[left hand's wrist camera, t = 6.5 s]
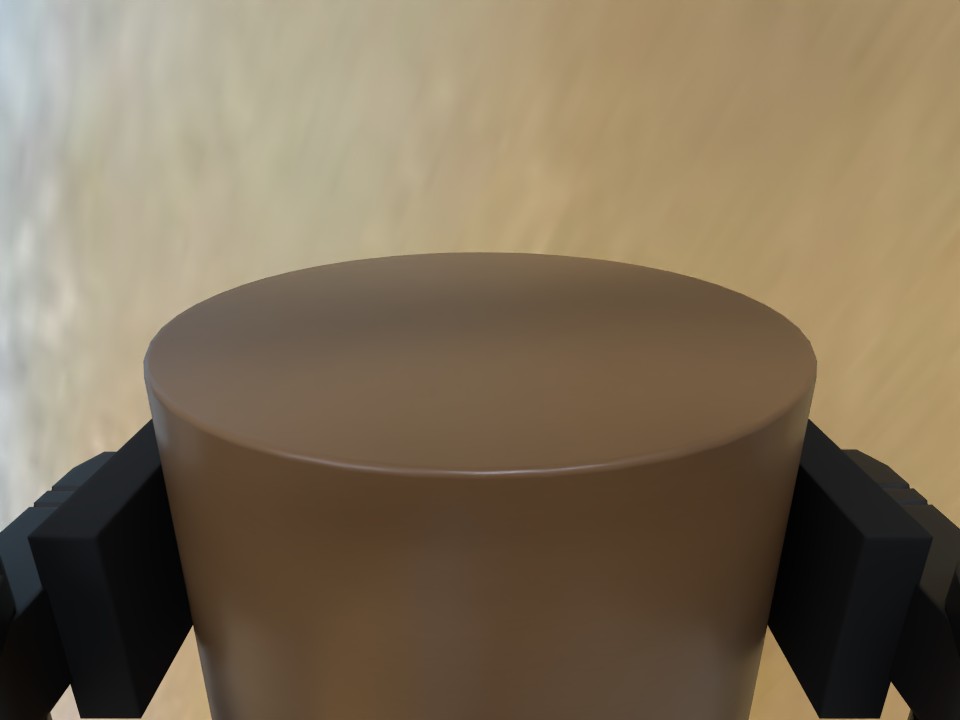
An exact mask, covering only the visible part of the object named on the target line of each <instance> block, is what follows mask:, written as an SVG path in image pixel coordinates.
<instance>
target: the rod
mask: <svg viewBox="0 0 960 720" xmlns="http://www.w3.org/2000/svg"><path fill="white" fill-rule="evenodd" d="M816 373H817V360H816V356H815V354H814V351H813V349H812V346H811V343H810V341H809V340H808V339H807V338H806V336H805V335H804V334H803V333H802V331H801V330H800V329H799V328H798V327H797V326H796V325H794V324H793V323H792V322H791V321H789V320H788V319H787V318H786V317H784V316H783V315H782V314H780V313H778V312H776V311H775V310H773V309H771V308H770V307H768V306H766V305H765V304H763V303H760V302H758V301H756V300H754V299H752V298H750V297H747V296H745V295H743V294H741V293H738V292H735V291H732V290H730V289H727V288H724V287H722V286H719V285H716V284H713V283H709V282H706V281H703V280H699V279H696V278H693V277H689V276H685V275H681V274H677V273H672V272H668V271H663V270H659V269H654V268H649V267H644V266H638V265H632V264H626V263H620V262H613V261H605V260H597V259H590V258H579V257H569V256H558V255H543V254H524V253H482V252H478V253H437V254H418V255H403V256H391V257H381V258H371V259H363V260H356V261H348V262H341V263H335V264H329V265H323V266H317V267H312V268H307V269H302V270H297V271H292V272H288V273H284V274H280V275H276V276H272V277H268V278H264V279H261V280H258V281H255V282H251V283H248V284H245V285H242V286H239V287H236V288H233V289H231V290H228V291H225V292H223V293H220V294H218V295H215V296H213V297H211V298H209V299H207V300H205V301H202V302H200V303H198V304H196V305H194V306H193V307H191V308H189V309H187V310H186V311H184V312H182V313H181V314H179V315H177V316H176V317H175V318H174V319H172V320H171V321H170V322H169V323H167V324H166V325H165V326H164V327H163V328H161V330H160V331H159V332H158V333H157V335H156V336H155V337H154V338H153V340H152V341H151V342H150V345H149V348H148V350H147V353H146V355H145V358H144V379H145V384H146V389H147V394H148V399H149V404H150V409H151V414H152V419H153V424H154V429H155V434H156V439H157V444H158V450H159V455H160V460H161V465H162V470H163V475H164V480H165V485H166V490H167V495H168V500H169V505H170V510H171V515H172V520H173V525H174V530H175V535H176V540H177V545H178V550H179V555H180V560H181V566H182V571H183V576H184V581H185V586H186V591H187V596H188V601H189V606H190V611H191V616H192V621H193V626H194V631H195V636H196V641H197V646H198V651H199V656H200V661H201V666H202V671H203V676H204V682H205V687H206V692H207V697H208V702H209V707H210V712H211V717H212V720H749V715H750V710H751V705H752V700H753V694H754V689H755V684H756V679H757V674H758V669H759V664H760V659H761V654H762V649H763V644H764V639H765V634H766V629H767V624H768V619H769V614H770V609H771V604H772V599H773V594H774V589H775V584H776V579H777V573H778V568H779V563H780V558H781V553H782V548H783V543H784V538H785V533H786V528H787V523H788V518H789V513H790V508H791V503H792V498H793V493H794V488H795V483H796V478H797V473H798V468H799V463H800V458H801V453H802V447H803V442H804V437H805V432H806V427H807V422H808V417H809V412H810V407H811V402H812V397H813V392H814V387H815V382H816Z"/></svg>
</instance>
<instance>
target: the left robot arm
mask: <svg viewBox="0 0 960 720" xmlns="http://www.w3.org/2000/svg"><path fill="white" fill-rule="evenodd" d="M192 625H193V621H192V616H191V611H190V606H189V601H188V596H187V591H186V586H185V581H184V576H183V571H182V566H181V560H180V555H179V550H178V545H177V540H176V535H175V530H174V525H173V520H172V515H171V510H170V505H169V500H168V495H167V490H166V485H165V480H164V475H163V470H162V465H161V460H160V455H159V450H158V444H157V439H156V434H155V429H154V424H153V419H151V420H150V421H149V422H148V423H147V424H146V425H145V426H144V427H143V428H142V429H141V430H139V431H138V432H137V433H136V434H135V435H134V436H133V437H132V438H131V439H130V440H129V441H128V442H127V443H126V444H125V445H124V446H123V447H122V448H120V449H119V450H118V451H117V452H103V453H101V454H99V455H97V456H95V457H93V458H92V459H90V460H88V461H86V462H84V463H82V464H80V465H78V466H76V467H74V468H73V469H72V470H71V471H69V472H68V473H67V474H66V475H65V476H64V477H63V478H62V479H60V480H59V481H58V482H57V483H56V484H55V485H54V486H53V487H52V491H47V492H46V493H45V494H43V495H42V496H41V497H40V498H39V499H38V500H37V501H36V502H34V507H29V508H28V509H27V510H25V511H24V512H23V513H22V514H21V515H20V516H19V517H18V518H16V519H15V520H14V521H13V522H12V523H11V524H10V525H9V526H7V527H6V528H5V529H4V530H3V531H2V532H1V533H0V720H52V717H51V713H50V712H51V710H52V709H53V707H54V706H55V705H56V703H57V702H58V700H59V699H60V698H61V696H62V695H63V693H64V692H65V690H66V689H67V688H68V686H69V685H70V684H71V687H72V691H73V694H74V697H75V701H76V704H77V708H78V711H79V714H80V718H141V717H142V716H143V714H144V712H145V710H146V708H147V707H148V705H149V703H150V701H151V699H152V698H153V696H154V694H155V692H156V690H157V689H158V687H159V685H160V683H161V681H162V680H163V678H164V676H165V674H166V672H167V671H168V669H169V667H170V665H171V663H172V662H173V660H174V658H175V656H176V654H177V653H178V651H179V649H180V647H181V645H182V644H183V642H184V640H185V638H186V636H187V634H188V633H189V631H190V629H191V627H192ZM767 625H768V626H769V628H770V630H771V632H772V634H773V635H774V637H775V639H776V641H777V643H778V644H779V646H780V648H781V650H782V652H783V654H784V655H785V657H786V659H787V661H788V663H789V664H790V666H791V668H792V670H793V672H794V673H795V675H796V677H797V679H798V681H799V682H800V684H801V686H802V688H803V690H804V691H805V693H806V695H807V697H808V699H809V700H810V702H811V704H812V706H813V708H814V709H815V711H816V713H817V715H818V717H819V718H828V719H880V716H881V713H882V709H883V706H884V703H885V699H886V696H887V693H888V689H889V686H890V682H892V683H893V685H894V686H895V688H896V689H897V690H898V692H899V693H900V695H901V696H902V697H903V699H904V700H905V702H906V703H907V704H908V706H909V707H910V709H911V710H910V713H909V717H908V720H960V529H959V528H958V527H957V526H956V525H955V524H953V523H952V522H951V521H950V520H949V519H948V518H947V517H945V516H944V515H943V514H942V513H941V512H940V511H939V510H938V509H936V508H935V507H934V506H933V505H928V504H927V500H926V499H925V498H924V497H923V496H922V495H920V494H919V493H918V492H917V491H916V490H915V489H914V488H909V484H908V483H907V482H906V481H905V480H903V479H902V478H901V477H900V476H899V475H898V474H897V473H895V472H894V471H893V470H892V469H891V468H890V467H889V466H887V465H885V464H883V463H881V462H880V461H878V460H876V459H874V458H872V457H870V456H868V455H866V454H864V453H862V452H860V451H858V450H841V449H840V448H839V447H838V446H837V445H836V444H835V443H834V442H833V441H832V440H831V439H829V438H828V437H827V436H826V435H825V434H824V433H823V432H822V431H821V430H820V429H819V428H818V427H817V426H816V425H815V424H814V423H813V422H812V421H810V420H809V419H808V422H807V427H806V432H805V437H804V442H803V447H802V453H801V458H800V463H799V468H798V473H797V478H796V483H795V488H794V493H793V498H792V503H791V508H790V513H789V518H788V523H787V528H786V533H785V538H784V543H783V548H782V553H781V558H780V563H779V568H778V573H777V579H776V584H775V589H774V594H773V599H772V604H771V609H770V614H769V619H768V624H767Z"/></svg>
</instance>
